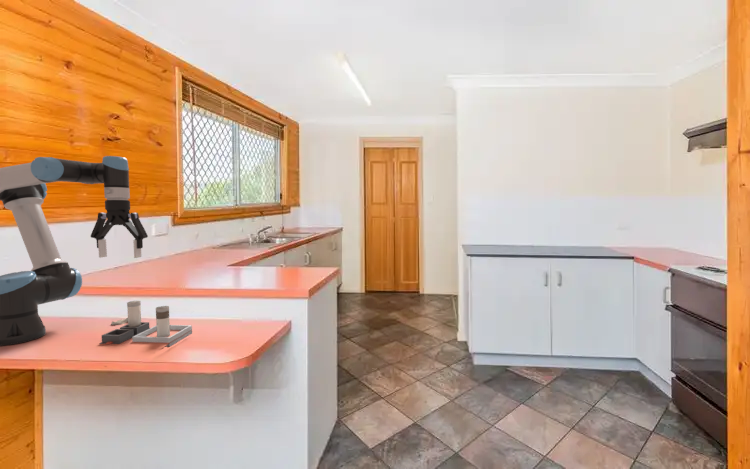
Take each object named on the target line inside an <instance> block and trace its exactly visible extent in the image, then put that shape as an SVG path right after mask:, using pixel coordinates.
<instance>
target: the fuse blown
mask: <svg viewBox="0 0 750 469" xmlns="http://www.w3.org/2000/svg"><path fill="white" fill-rule="evenodd" d="M155 320H156V322H155V323H156V325H157V331H156V337H170V335H171V330H170V325H171V324H170V306H169V305H162V306H157V307H155ZM156 325H155V326H156Z"/></svg>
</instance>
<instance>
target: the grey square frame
mask: <svg viewBox="0 0 750 469" xmlns="http://www.w3.org/2000/svg"><path fill="white" fill-rule="evenodd" d="M149 328H150V329H148V330H146V331H144V332H142V333H139V334H137V335H135V336H133V337H132V338H131V340H132V342H134V343H167V344H166V345H165V346H164V348H170V347H172V346H174V345H175V344H177V343H179V342H180V341H182V340H184V339H186V338H187V337H189V336H191V335H192V334H193V326H192V324H191V325H190V324H187V325H185V324H184V325H183V324H170V331H173V330H174V331H177V332H176V333H174V334H172V335H171V336H170V335H169V336H167V337H157V336H148V335H150V334H152V333H154V332H157V325H154V326H151V327H149Z"/></svg>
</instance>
